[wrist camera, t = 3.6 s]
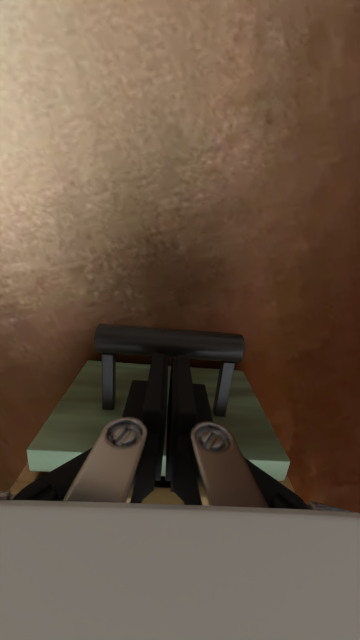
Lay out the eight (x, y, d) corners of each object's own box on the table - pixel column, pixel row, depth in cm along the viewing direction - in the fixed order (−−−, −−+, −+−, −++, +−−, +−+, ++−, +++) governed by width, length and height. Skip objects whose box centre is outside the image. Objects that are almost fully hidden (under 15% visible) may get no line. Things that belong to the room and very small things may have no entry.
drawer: (85, 296, 16) (11, 347, 9) (254, 310, 17) (320, 369, 9) (91, 493, 22) (50, 625, 14) (216, 498, 22) (238, 625, 15)
